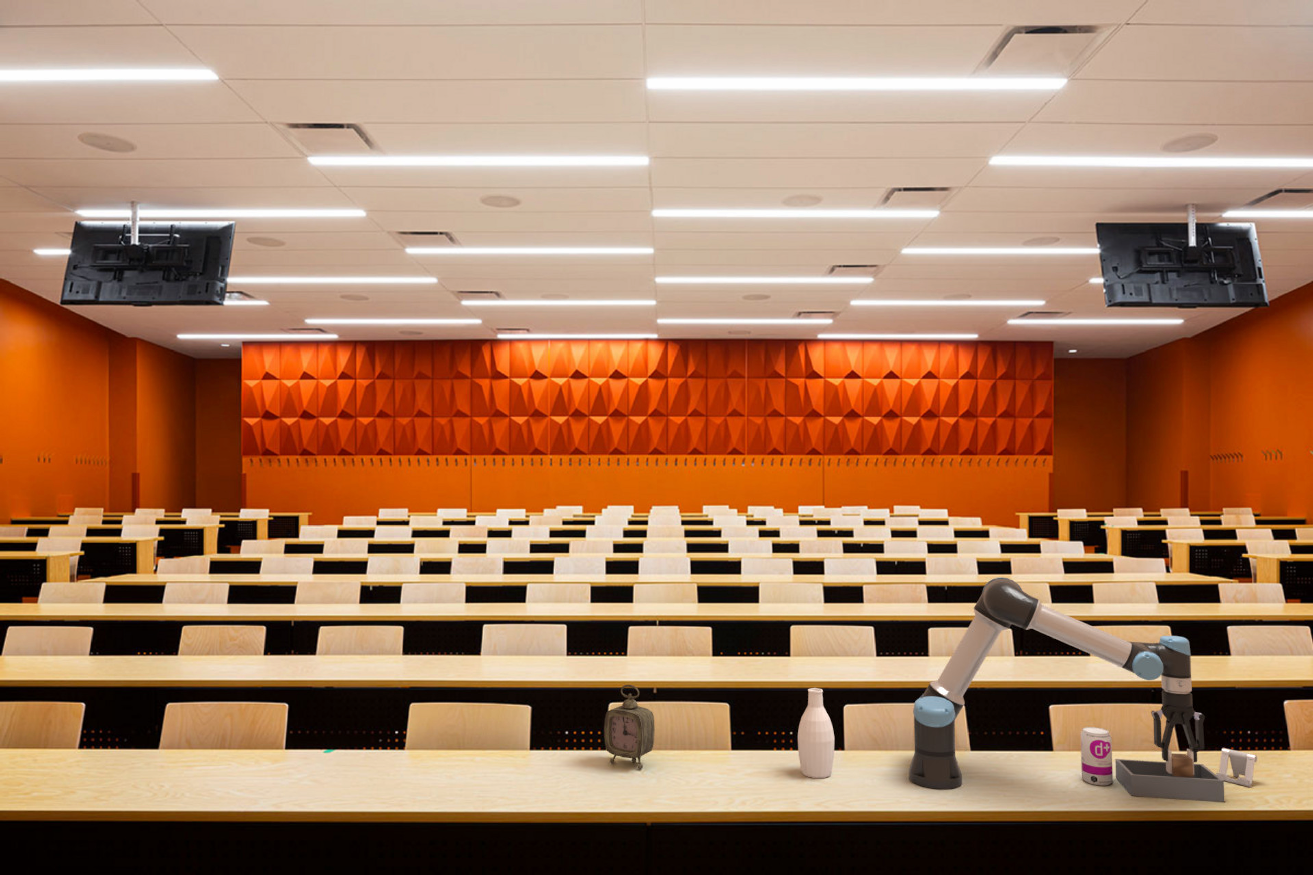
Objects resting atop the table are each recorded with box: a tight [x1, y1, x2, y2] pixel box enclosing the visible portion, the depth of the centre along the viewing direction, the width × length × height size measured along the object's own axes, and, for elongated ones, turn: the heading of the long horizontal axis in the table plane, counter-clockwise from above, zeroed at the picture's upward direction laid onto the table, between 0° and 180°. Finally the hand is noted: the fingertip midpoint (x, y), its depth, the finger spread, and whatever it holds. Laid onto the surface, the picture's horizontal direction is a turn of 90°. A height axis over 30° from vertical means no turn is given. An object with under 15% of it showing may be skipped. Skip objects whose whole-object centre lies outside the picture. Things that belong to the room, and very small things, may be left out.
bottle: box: [797, 687, 835, 779], centre depth 265 cm, size 11×11×25 cm
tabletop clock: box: [603, 684, 656, 770], centre depth 274 cm, size 14×9×25 cm, turn 58°
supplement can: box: [1080, 726, 1114, 786], centre depth 257 cm, size 8×8×15 cm
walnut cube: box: [1172, 753, 1193, 777], centre depth 249 cm, size 5×5×5 cm
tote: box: [1114, 758, 1225, 803], centre depth 250 cm, size 24×15×6 cm, turn 78°
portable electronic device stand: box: [1215, 747, 1258, 788], centre depth 257 cm, size 9×8×8 cm
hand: (1180, 772), depth 249 cm, fingers closed on walnut cube, 5 cm apart
